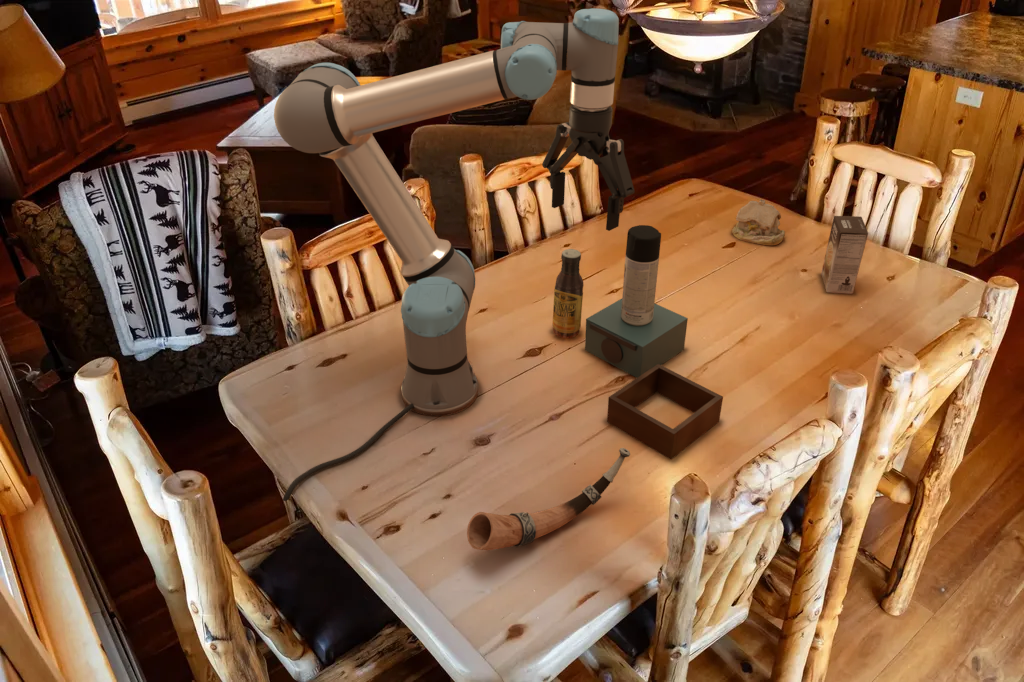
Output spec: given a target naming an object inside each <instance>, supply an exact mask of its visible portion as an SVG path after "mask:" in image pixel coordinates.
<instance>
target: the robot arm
mask: <svg viewBox="0 0 1024 682" xmlns="http://www.w3.org/2000/svg"><path fill="white" fill-rule="evenodd" d="M619 24H620V19H619V17H618V15H617V14H616V12H614V11H612V10H609V9H604V8H594V7H593V8H582V9H580V10H577V11H576V12H575V13H574V16H573V19H572V22H540V21H539V22H538V21H537V22H535V21H526V20H521V21H511V22H510V21H509V22H506V23H505V24H503V26H502V28H501V35H500V48H499V49H495V50H490V51H485V52H483V53H478V54H475V55H471V56H466V57H463V58H460V59H455V60H452V61H449V62H444V63H440V64H436V65H433V66H430V67H426V68H421V69H418V70H414V71H410V72H406V73H403V74H399V75H395V76H392V77H388V78H387V77H386V78H383V79H380V80H376V81H372V82H369V83H365V84H361V83H360V82H359V80H358V78H357V77H356V76H355V75H354V73H352V71H350V70H349V69H348V68H346V67H344V66H342V65H340V64H336V63H333V62H319V63H315V64H313V65H311V66H309V67H307V68H305V69H304V70H303V71H301V72H300V73H298V75H297V76H296V78H295V79H294V80H293V81H292V82H291V83H290V84H289V85H288V86H287V87H286V88H285V89H284V90H283V91H282V92H281V93H280V94H279V96H278V98H277V100H276V102H275V105H274V108H273V120H274V125H275V127H276V131H277V132H278V134H279V136H280V138H282V140H283V141H284V142H285V143H286V144H287V145H288V146H290V147H291V148H293V149H294V150H296V151H299V152H302V153H305V154H319V156H320V157H322V158H326V159H331V160H332V161H333V162H334V163H335V165H336V166H337V168H338V169H339V171H340V172H341V174H342V175H343V176H344V178H345V179H346V181H347V183H348V184H349V185H350V187H351V188H352V190H353V191H354V193H355V194H356V196H357V197H358V199H359V200H360V202H361V204H362V205H363V206H364V208H365V210H367V212H368V214H369V215H370V217H371V219H373V221H374V222H375V224H376V225H377V227H378V228H379V230H380V231H381V233H382V234H383V236H384V237H385V240H387V242H388V243H389V245H390V247H391V248H392V250H393V251H394V253H396V255H397V257H398V258H399V260H400V261H401V266H400V270H399V272H400V275H401V277H402V278H403V279H404V281H405V283H406V284H407V288H406V289H405V290H404V292H403V294H402V297H401V305H400V314H401V319H402V325H403V326H402V327H403V333H404V343H405V351H406V359H407V365H406V368H405V373H404V377H403V379H402V382H401V389H400V391H401V398H402V401H403V403H404V404H405V408H403V409H402V410H401V411H399V413H397V414H396V415H395V416H394V417H392V418H391V419H390V420H388V422H386V423H385V424H384V425H383V426H382V427H380V429H378V430H377V431H376V432H375V433H374V434H373V435H372V436H371V437H370V438H369V439H368V440H367V441H365V443H363V444H362V445H361V446H359V447H358V448H357V449H355V450H353V451H351V452H349V453H348V454H345V455H342V456H340V457H337V458H334V459H331V460H328V461H325V462H322V463H319V464H317V465H315V466H313V467H311V468H310V469H308V470H306V471H305V472H303V473H302V474H300V475H299V476H297V477H296V478H295V479H294V480H293V481H292V482H291V483H290V484H289V486H288V488H287V489H286V491H285V493H284V496H283V498H282V501H283V502H287V501H288V500H289V499H290V498H291V495H292V494H293V492H294V490H295V488H296V487H297V486H298V485H299V484H300V483H301V482H302V481H304V480H305V479H307V478H309V477H310V476H312V475H313V474H315V473H318V472H320V471H322V470H324V469H326V468H329V467H333V466H335V465H339V464H342V463H344V462H346V461H349V460H351V459H354V458H355V457H357V456H359V455H360V454H362V453H363V452H364V451H366V450H367V449H368V448H370V446H372V445H373V444H374V443H375V442H376V441H377V440H378V439H379V438H380V437H381V436H382V435H383V434H384V433H385V432H386V431H387V430H388V429H390V428H391V427H392V426H393V425H395V423H397V422H398V421H399V420H401V419H402V418H403V417H404V416H406V414H408V413H409V412H410V411H413V412H415V413H417V414H420V415H423V416H427V417H428V416H429V417H444V416H450V415H454V414H457V413H459V412H462V411H464V410H466V409H467V408H469V407H471V405H472V404H474V403H475V401H476V399H477V398H478V395H479V381H478V377H477V375H476V373H475V371H474V367H473V364H472V361H470V360H469V358H468V345H467V321H468V317H469V316H468V315H469V312H470V308H471V303H472V300H473V295H474V292H475V288H476V272H475V268H474V266H473V263H472V261H471V260H470V258H469V257H468V256H467V255H466V254H465V253H464V252H463V251H461V250H459V249H455V248H454V246H453V245H452V243H451V242H450V241H449V240H448V239H443V238H439V237H438V235H437V233H435V231H434V229H433V227H432V225H430V223H429V222H428V219H427V218H426V217H425V215H424V213H423V212H422V211H421V209H420V207H419V205H418V204H417V203H416V201H415V200H414V198H413V196H412V194H411V193H410V191H409V190H408V189H407V187H406V185H405V184H404V182H403V180H402V179H401V177H400V176H399V174H398V173H397V171H396V169H395V168H394V167H393V165H392V163H391V161H390V160H389V158H388V157H387V156H386V154H385V153H384V151H383V149H382V147H381V146H380V144H379V143H378V142H377V140H376V138H375V136H374V134H375V133H378V132H382V131H386V130H390V129H393V128H398V127H401V126H405V125H409V124H413V123H417V122H422V121H425V120H429V119H433V118H436V117H442V116H444V115H448V114H453V113H456V112H460V111H465V110H469V109H473V108H476V107H481V106H484V105H488V104H493V103H496V102H500V101H504V100H507V99H513V98H517V97H518V98H519V99H523V100H527V101H529V100H530V101H533V100H538V99H540V98H542V97H544V96H545V95H546V94H547V93H548V92H549V91H550V89H551V88H552V87H553V84H554V83H555V80H556V77H557V74H558V73H557V72H558V71H563V72H565V71H571V76H570V90H569V91H570V92H569V103H570V104H571V105H570V106H569V114H568V121H566V122H563V123H560V124H557V126H556V129H555V136H554V138H553V140H552V142H551V145H550V146H549V149H548V150H547V153H546V154H545V157H544V159H543V161H542V164H541V165H542V167H543V169H547V170H548V172H549V173H550V182H549V185H550V189H551V208H553V209H556V208H559V207H561V206H564V205H565V189H566V172H565V171H564V170H565V168H566V166H567V165H568V164H569V163H571V161H572V160H573V159H574V158H575V157H576V156H578V157H584V158H586V159H587V160H591V161H593V163H594V164H595V165H596V166H597V167H598V169H599V171H600V173H601V176H602V177H603V179H604V181H605V183H606V185H607V187H608V189H609V191H610V194H611V195H609V196H608V198H607V210H606V223H605V224H606V225H605V231H608V232H610V231H612V230H614V229H617V228H619V225H620V215H621V214H622V213H623V211H624V204H625V198H627V197H630V196H632V195H634V194H635V191H636V190H635V187H634V183H633V180H632V177H631V172H630V169H629V165H628V162H627V159H626V154H625V141H624V140H623V139H622V138H619V139H617V140H615V139H611V138H610V130H611V128H612V125H613V124H612V123H613V111H614V109H613V107H612V105H613V104H614V97H615V82H616V72H617V62H618V61H617V60H618V49H619V31H620V30H619V29H620V28H619V27H620V25H619ZM569 138H570V141H571V143H569V145H568V146H567V148H566V149H565V151H564V152H563V153H562V151H563V149H564V147H565V146H566V143H567V141H568V139H569ZM561 153H562V154H561Z"/></svg>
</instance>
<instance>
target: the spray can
mask: <svg viewBox="0 0 1024 682" xmlns="http://www.w3.org/2000/svg"><path fill="white" fill-rule="evenodd" d="M626 234H627V235H626V236H627V237H626V246H625V247H626V248H625V258H624V269H623V283H622V297H621V299H622V308H621V318H622V320H623V321H624V322H625V323H627V324H629V325H633V326H643V325H646V324H649V323H650V322H651V321H652V318H653V312H654V303H655V302H656V301H655V300H656V292H657V282H658V272H659V265H660V254H661V253H660V252H661V243H662V233H661V232H660V231H659V230H658V229H657V228H656V227H654V226H653V225H649V224H648V225H647V224H646V225H645V224H639V225H634V226H631V227H630V228H628V230H627V233H626ZM655 304H656V303H655Z"/></svg>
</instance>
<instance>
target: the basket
mask: <svg viewBox="0 0 1024 682" xmlns="http://www.w3.org/2000/svg"><path fill="white" fill-rule="evenodd" d="M656 393H657V394H659V395H661V396H663V397H665V398H667V399H669V400H670V401H673V402H675V403H676V404H678V405H680V406H682V407H684V408H686V409H688V410H689V411H691V412H693V413H692V414H691V415H689V416H688V417H687V418H686V419H684V420H683V421H681V423H678V424H677V425H676V426H675V427H673V428H672V427H670V426H669V425H667V424H665V423H664V422H661V421H660V420H658V419H656V418H654V417H653V416H651V415H648V413H646V412H644V411H642V410H640V409H638V408H636V407H638V406H639V405H640V404H642V403H643V402H644V401H646V400H647V399H649V398H650V397H652V396H653V395H655V394H656ZM723 400H724V396H722V395H721V394H719V393H717V392H715V391H714V390H711V389H709V388H707V387H705V386H703V385H701V384H699V383H697V382H695V381H693V380H691V379H689V378H687V377H685V376H683V375H681V374H679V373H678V372H676V371H674V370H671V369H670V368H667V367H666V366H664V365H663V364H662V365H660V364H657V365H656V366H654V367H653V368H651V369H650V370H648V371H647V372H645V373H644V374H642V375H641V376H639V377H638V378H636V377H635V379H633V380H632V381H630V382H629V383H627V384H626V385H624V386H623V387H621V388H620V389H618V390H617V391H615V392H614V393H612V394H610V395H609V396H608V400H607V403H608V404H607V413H606V415H607V417H606V422H607V423H608V424H610V425H611V426H614V427H615V428H617V429H618V430H620V431H622V432H624V433H625V434H627V435H629V436H630V437H632V438H633V439H636V440H637V441H639V442H640V443H642V444H644V445H645V446H647V447H649V448H651V449H652V450H654V451H656V452H657V453H659V454H661V455H662V456H664V457H666V458H668V459H669V460H672V459H674V458H675V457H677V455H680V453H682V452H683V451H684V450H686V449H687V448H688V447H690V445H692V444H693V443H694V442H696V441H697V440H698V439H699V438H700V437H702V436H703V435H704V434H705V433H707V432H708V431H710V430H711V429H712V428H713V427H715V426H716V425H717V424H718V423H719V422H720V419H721V412H722V406H723Z"/></svg>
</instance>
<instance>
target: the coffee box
mask: <svg viewBox="0 0 1024 682" xmlns="http://www.w3.org/2000/svg"><path fill="white" fill-rule="evenodd" d="M868 237H869V232H868V229H867V227H866V224H865V222H864V220H863V217H862V216H856V215H855V216H854V215H834V216H833V218H832V223H831V228H830V232H829V237H828V240H827V241H828V242H827V246H826V250H825V255H824V259H823V265H822V269H821V275H820V276H821V278H822V282H823V286H824V289H825V291H826V293H829V294H830V293H831V294H833V293H834V294H847V295H848V294H849V295H850V294H851V295H853V294H854V290H855V286H856V283H857V278H858V275H859V270H860V267H861V263H862V259H863V256H864V251H865V248H866V245H867V240H868Z"/></svg>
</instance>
